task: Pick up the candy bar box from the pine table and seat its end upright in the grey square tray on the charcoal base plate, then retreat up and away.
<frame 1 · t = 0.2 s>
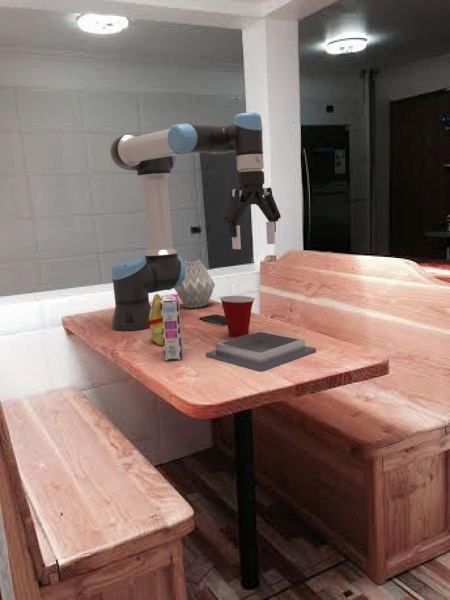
hand: (254, 246, 154), 28 cm above the table, tool pointing down, fingers open, 13 cm apart
candy bar box: (174, 355, 149), on the table
grey square tray: (260, 354, 144), on the table
plastic cup: (239, 335, 166), on the table
phone: (219, 322, 187), on the table
chocolate bunny: (158, 343, 163), on the table
vase: (195, 306, 215), on the table
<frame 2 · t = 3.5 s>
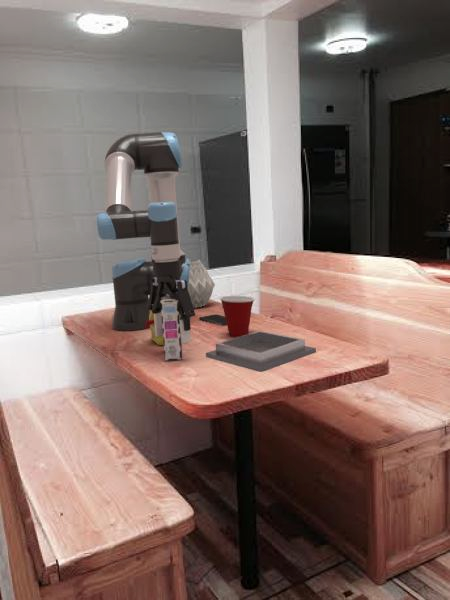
hand: (172, 338, 148), 5 cm above the table, tool pointing down, fingers closed on candy bar box, 11 cm apart
candy bar box: (174, 355, 149), on the table, touching gripper
everything else where it was.
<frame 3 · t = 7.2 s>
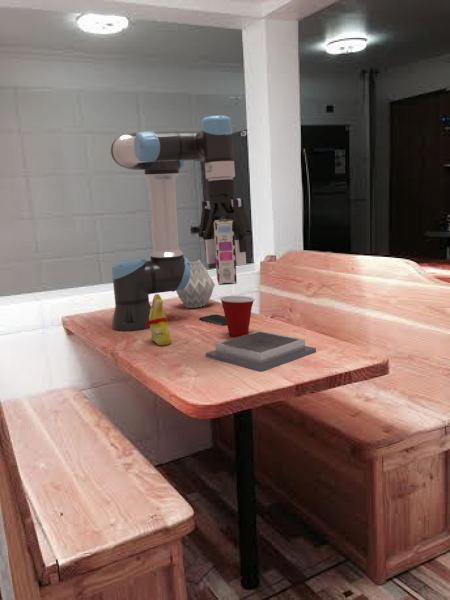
hand: (226, 264, 141), 25 cm above the table, tool pointing down, fingers closed on candy bar box, 11 cm apart
candy bar box: (227, 282, 142), point 20 cm above the table, touching gripper
everything else where it was.
when the fingers open (7 cm above the table, at t = 10.7 s): candy bar box drops 1 cm, resting on grey square tray.
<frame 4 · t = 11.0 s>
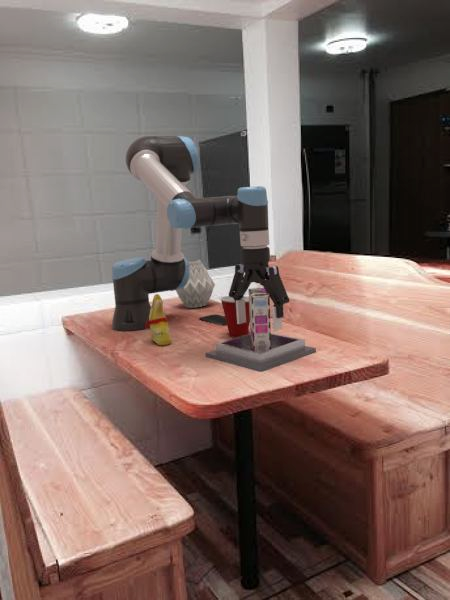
hand: (259, 326, 143), 8 cm above the table, tool pointing down, fingers open, 13 cm apart
candy bar box: (261, 351, 144), point 1 cm above the table, touching grey square tray
everything else where it was.
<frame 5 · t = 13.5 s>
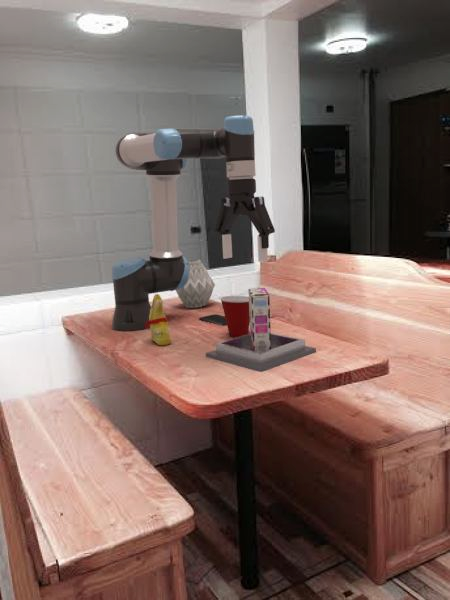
hand: (244, 259, 143), 25 cm above the table, tool pointing down, fingers open, 13 cm apart
nothing on the table moved.
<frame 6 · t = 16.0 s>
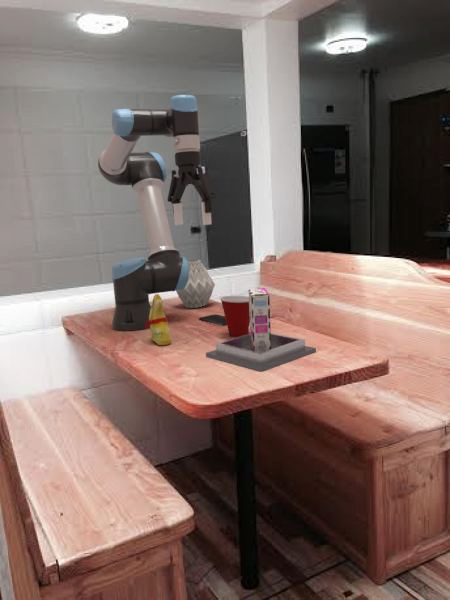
hand: (192, 224, 160), 35 cm above the table, tool pointing down, fingers open, 13 cm apart
nothing on the table moved.
at the end: candy bar box 0.3 cm off-centre on the grey square tray, point 0.8 cm above the grey square tray's base; candy bar box tilted 0°; the gripper is holding nothing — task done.
